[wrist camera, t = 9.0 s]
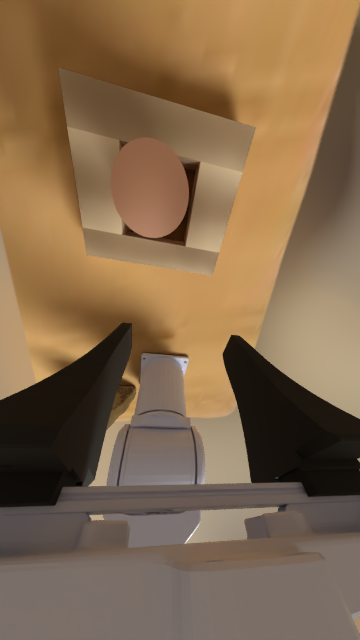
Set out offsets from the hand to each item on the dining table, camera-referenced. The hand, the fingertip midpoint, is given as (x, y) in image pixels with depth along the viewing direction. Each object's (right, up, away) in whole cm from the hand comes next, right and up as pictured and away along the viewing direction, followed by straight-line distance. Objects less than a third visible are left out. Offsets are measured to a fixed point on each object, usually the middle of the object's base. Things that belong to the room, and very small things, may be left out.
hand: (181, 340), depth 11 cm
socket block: (-2, +12, +3) cm, 13 cm away
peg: (-2, +12, +3) cm, 13 cm away
